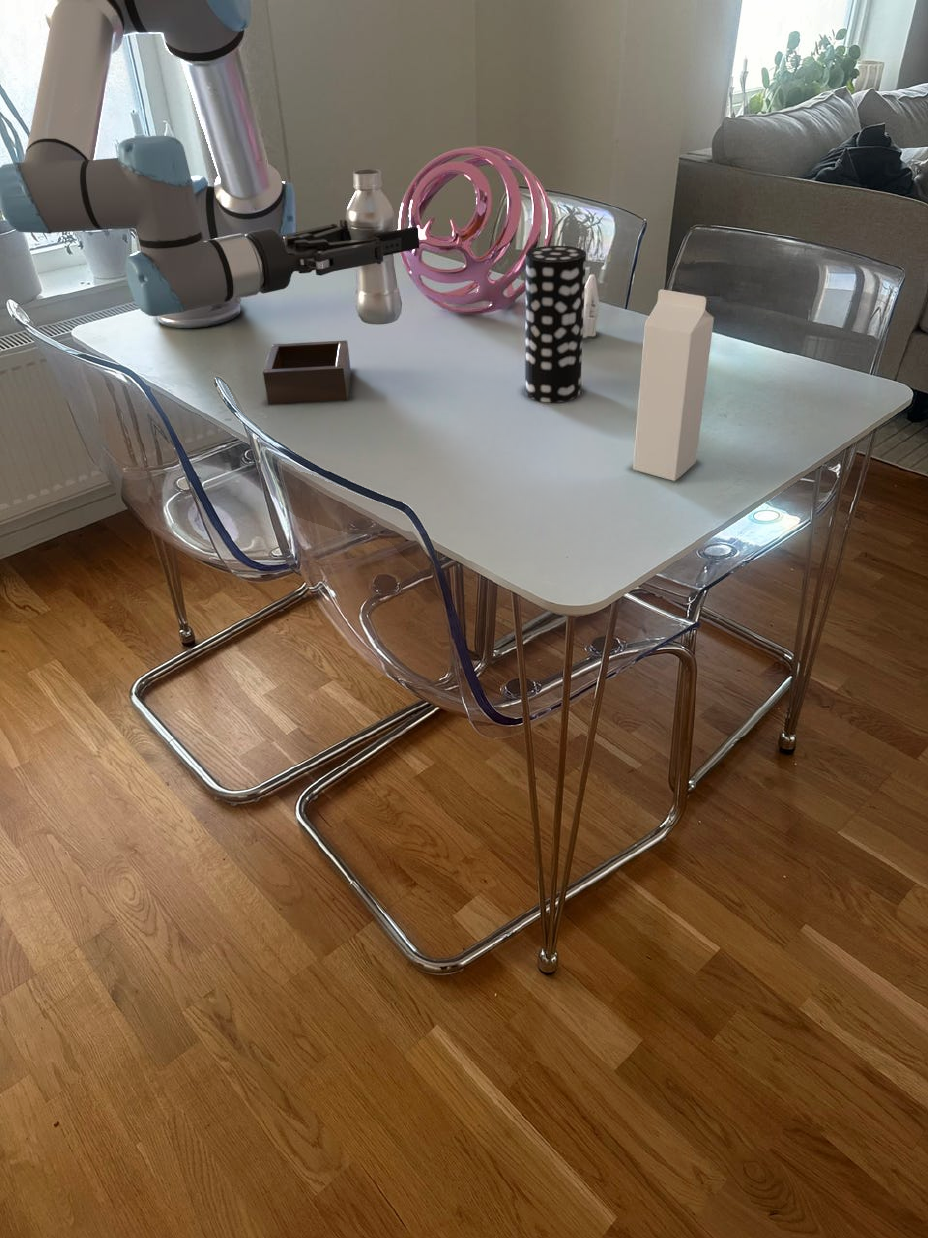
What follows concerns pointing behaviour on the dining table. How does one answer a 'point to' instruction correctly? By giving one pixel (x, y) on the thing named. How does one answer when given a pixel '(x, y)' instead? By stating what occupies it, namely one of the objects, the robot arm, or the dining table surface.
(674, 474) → the milk
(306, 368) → the box
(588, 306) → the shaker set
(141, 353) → the dining table surface
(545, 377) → the spotted tube
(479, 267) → the spiral basket
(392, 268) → the silver metal bottle
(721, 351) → the dining table surface
